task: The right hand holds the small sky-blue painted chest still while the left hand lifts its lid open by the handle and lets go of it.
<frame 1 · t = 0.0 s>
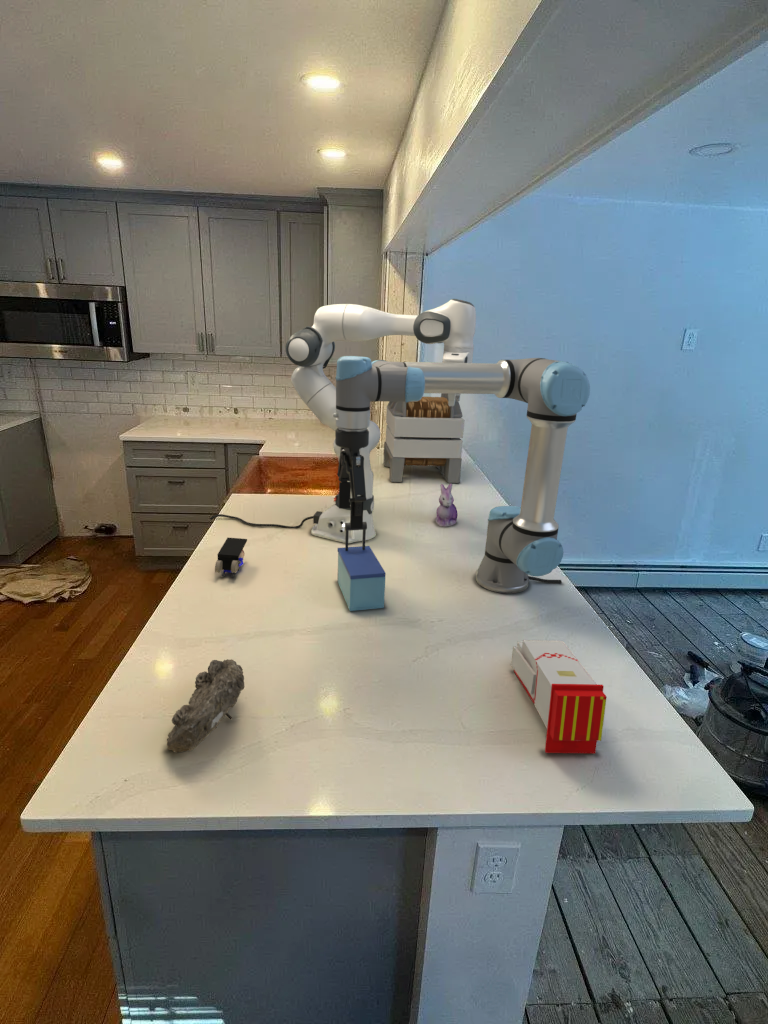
left hand: (454, 403, 174), 48 cm above the counter, tool pointing down, fingers open, 8 cm apart
right hand: (350, 517, 134), 28 cm above the counter, tool pointing down, fingers open, 13 cm apart
fossil: (212, 717, 108), on the counter
figurine: (446, 523, 212), on the counter
toy: (547, 704, 116), on the counter
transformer: (419, 473, 275), on the counter
lid: (360, 547, 152), point 14 cm above the counter, hinge at 0.0°
figurine character: (232, 569, 168), on the counter
chest: (359, 594, 157), on the counter
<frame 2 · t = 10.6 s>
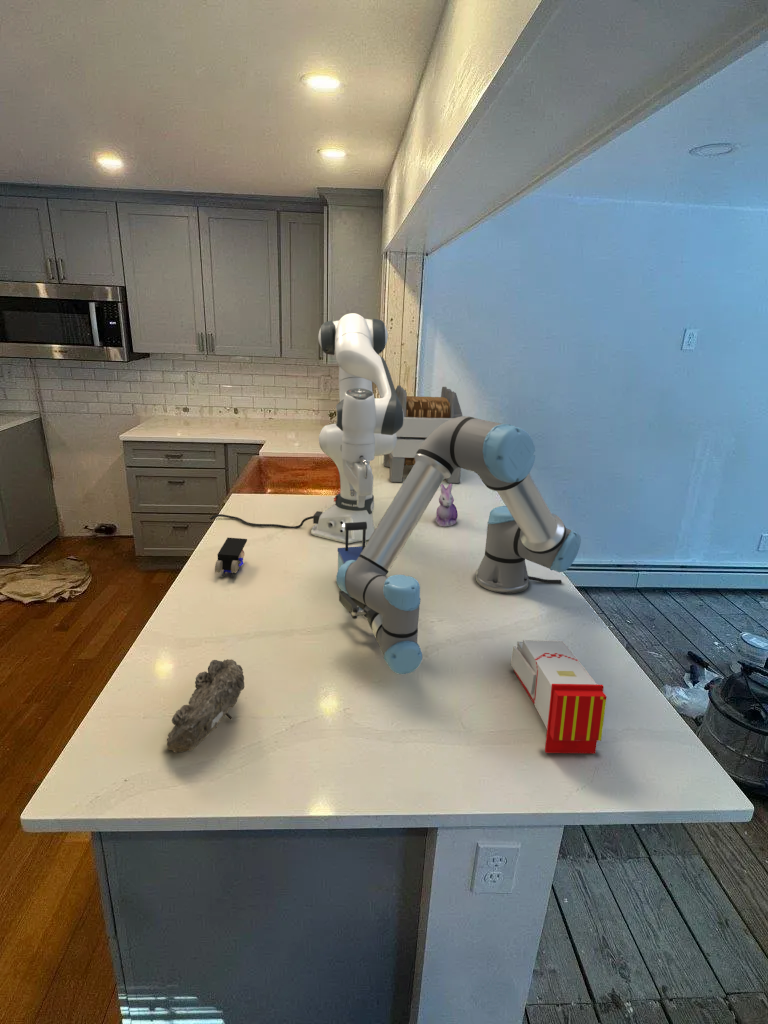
left hand: (356, 501, 155), 25 cm above the counter, tool pointing down, fingers open, 8 cm apart
right hand: (364, 579, 150), 7 cm above the counter, tool horizontal, fingers closed on chest, 9 cm apart
chest: (359, 594, 157), on the counter, touching right hand
everything else where it was.
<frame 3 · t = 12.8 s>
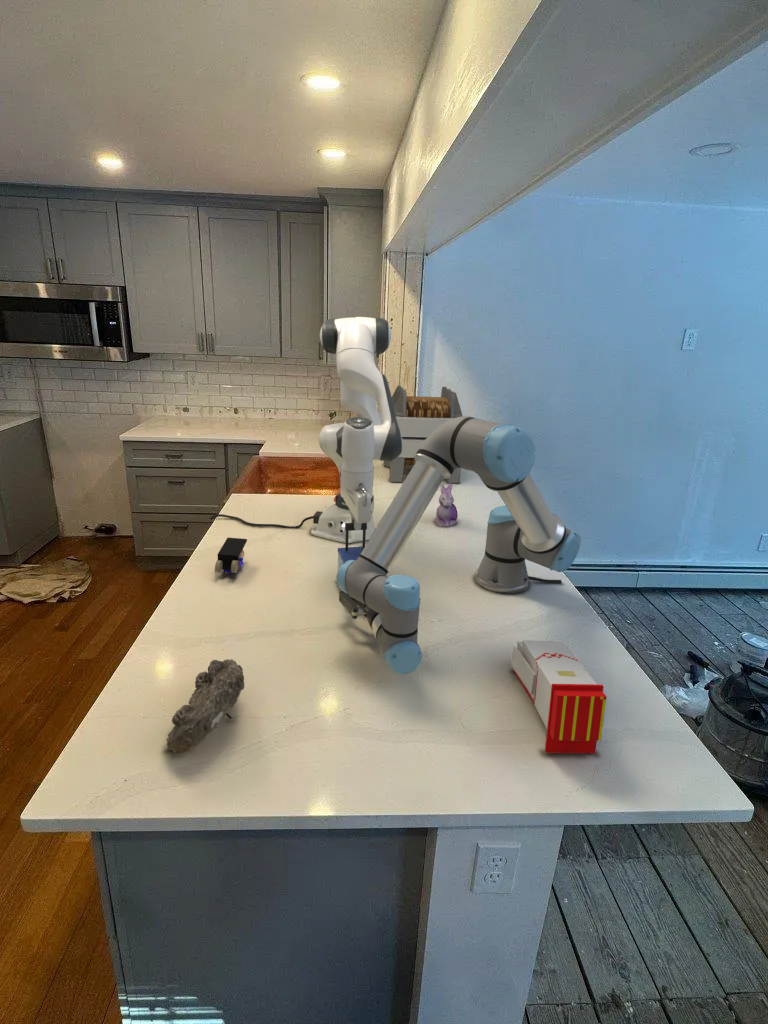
left hand: (355, 526, 157), 17 cm above the counter, tool pointing down, fingers closed on lid, 2 cm apart
right hand: (364, 579, 150), 7 cm above the counter, tool horizontal, fingers closed on chest, 9 cm apart
lid: (360, 547, 152), point 14 cm above the counter, hinge at -0.2°, touching left hand
chest: (359, 594, 157), on the counter, touching right hand
everything else where it was.
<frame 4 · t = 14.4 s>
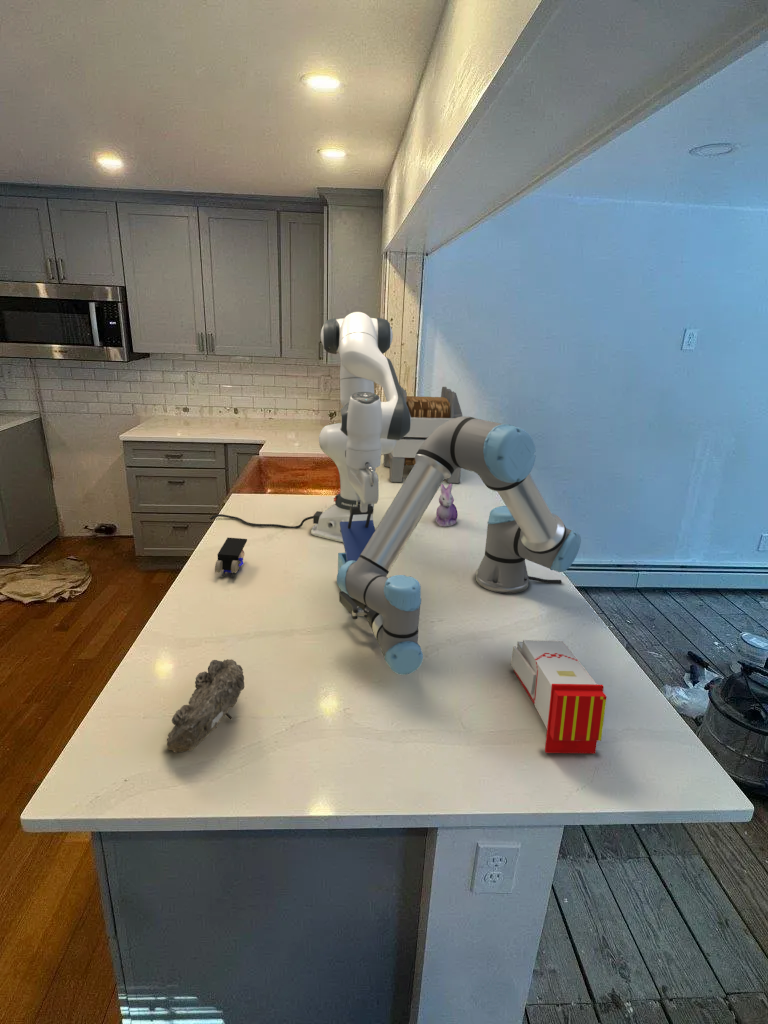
left hand: (361, 509, 149), 25 cm above the counter, tool pointing down, fingers closed
right hand: (364, 580, 150), 7 cm above the counter, tool horizontal, fingers closed on chest, 9 cm apart
lid: (364, 538, 148), point 18 cm above the counter, hinge at 30.3°, touching left hand
chest: (359, 594, 157), on the counter, touching right hand
everything else where it was.
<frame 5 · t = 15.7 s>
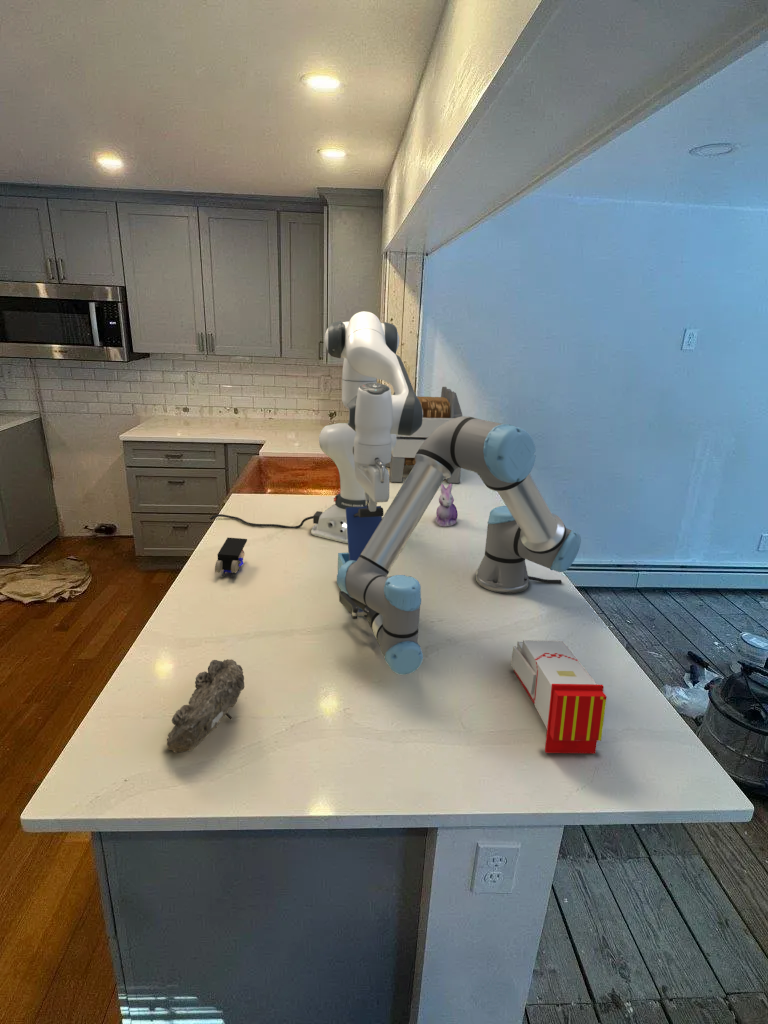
left hand: (370, 509, 139), 28 cm above the counter, tool pointing down, fingers closed, pressing on lid
right hand: (364, 580, 150), 7 cm above the counter, tool horizontal, fingers closed on chest, 9 cm apart
lid: (369, 540, 142), point 20 cm above the counter, hinge at 64.1°, touching left hand
chest: (359, 594, 157), on the counter, touching right hand
everything else where it was.
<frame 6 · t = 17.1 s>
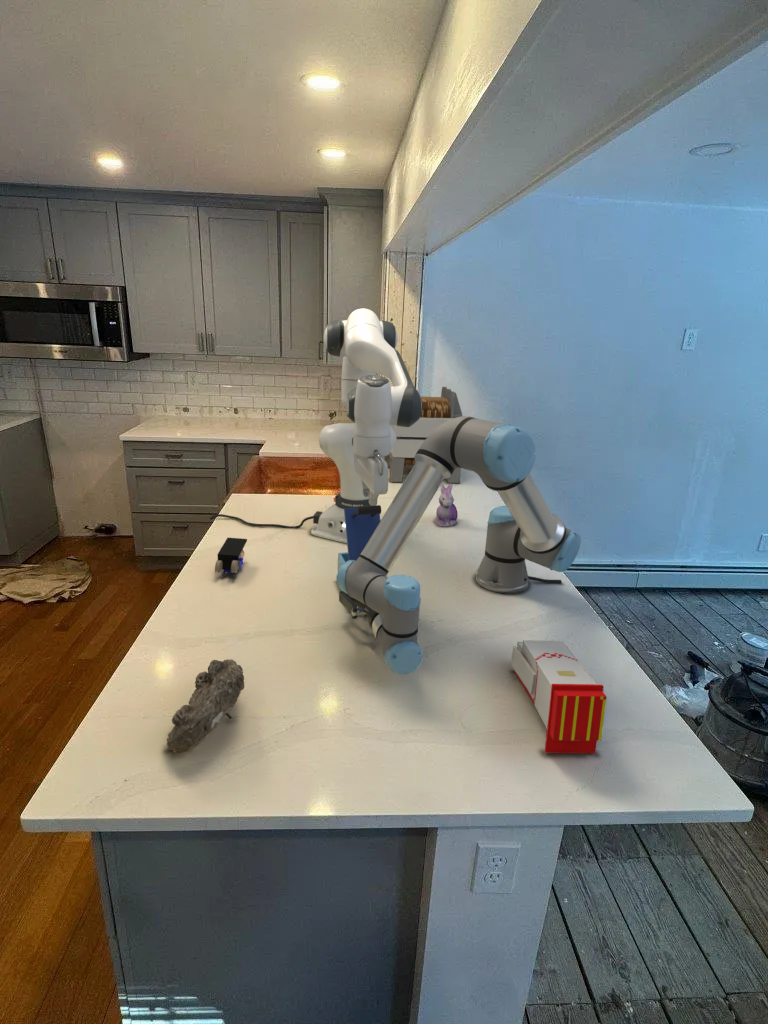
left hand: (369, 500, 140), 30 cm above the counter, tool pointing down, fingers open, 5 cm apart
right hand: (364, 579, 150), 7 cm above the counter, tool horizontal, fingers closed on chest, 9 cm apart
lid: (368, 539, 143), point 20 cm above the counter, hinge at 57.9°
chest: (359, 594, 157), on the counter, touching right hand
everything else where it was.
when the right hand's fingers open (7 cm above the counter, at t = 19.9 s): chest stays where it is, on the counter.
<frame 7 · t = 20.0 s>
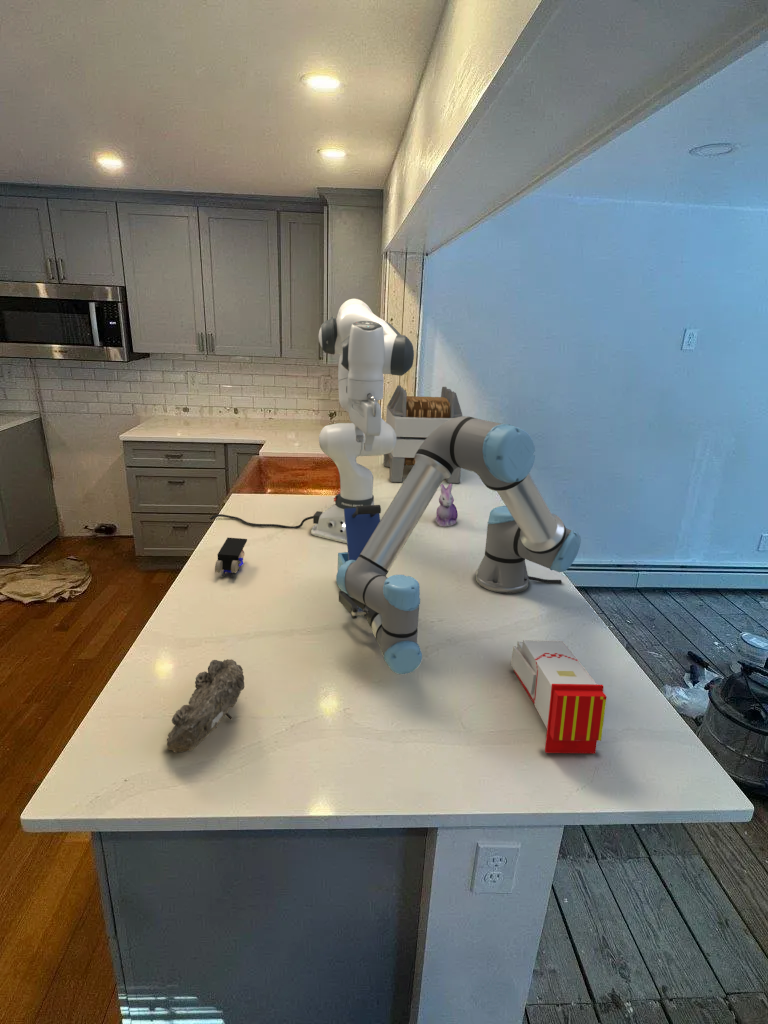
left hand: (363, 446, 144), 42 cm above the counter, tool pointing down, fingers open, 8 cm apart
right hand: (364, 579, 150), 7 cm above the counter, tool horizontal, fingers open, 9 cm apart
lid: (368, 538, 144), point 20 cm above the counter, hinge at 57.1°
chest: (359, 594, 157), on the counter
everything else where it was.
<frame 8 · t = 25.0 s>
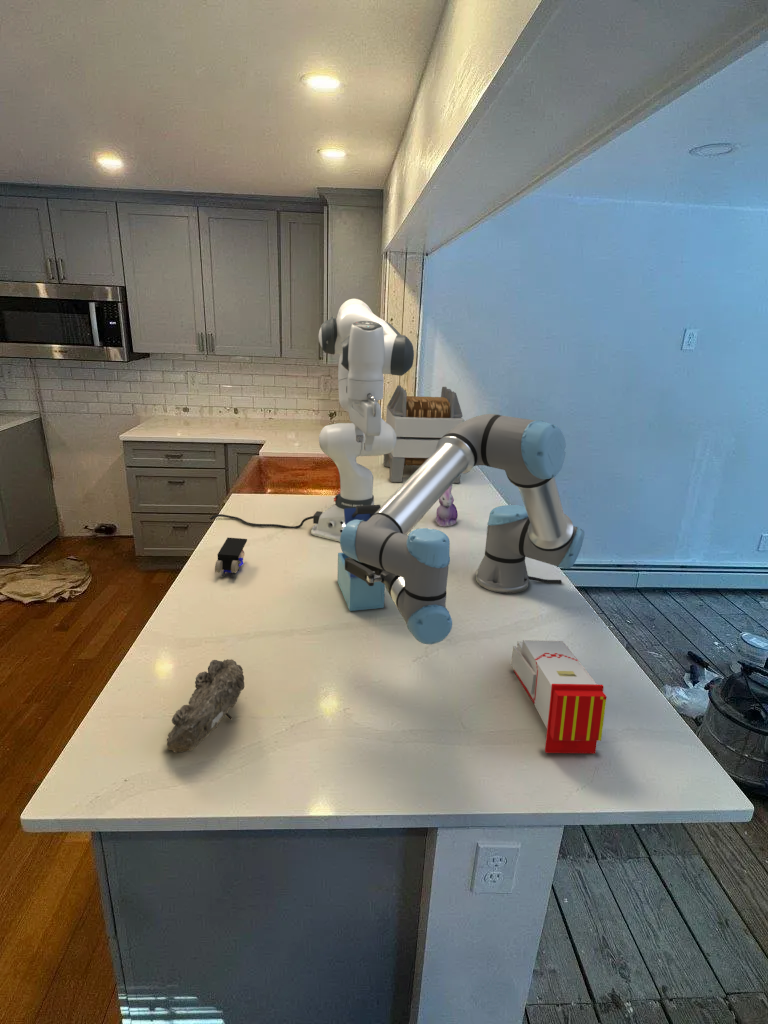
left hand: (363, 446, 144), 42 cm above the counter, tool pointing down, fingers open, 8 cm apart
right hand: (380, 546, 132), 22 cm above the counter, tool horizontal, fingers open, 13 cm apart
nothing on the counter moved.
at the end: lid at +57° (first picture: +0°); the left hand is holding nothing; the right hand is holding nothing; chest tilted 0°; chest never tilted more than 1° during the clip; chest moved 0.1 cm from its start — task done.
